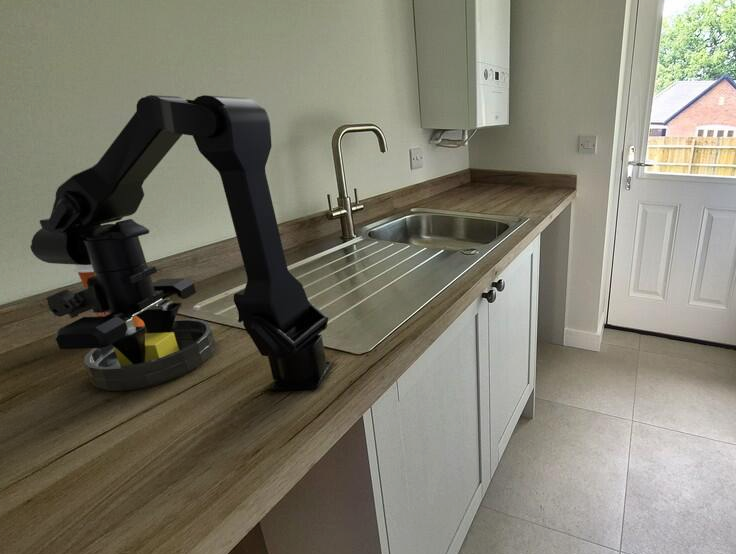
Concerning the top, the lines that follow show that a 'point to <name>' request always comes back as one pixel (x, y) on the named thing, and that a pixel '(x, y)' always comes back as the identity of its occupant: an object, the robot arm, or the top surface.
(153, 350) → the sponge
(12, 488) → the top surface
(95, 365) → the pan
